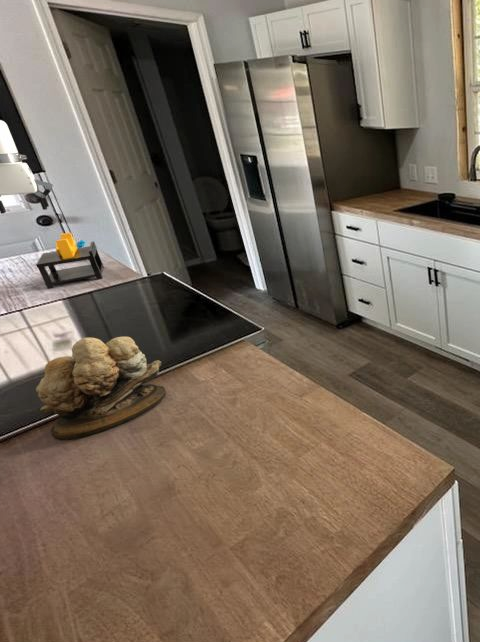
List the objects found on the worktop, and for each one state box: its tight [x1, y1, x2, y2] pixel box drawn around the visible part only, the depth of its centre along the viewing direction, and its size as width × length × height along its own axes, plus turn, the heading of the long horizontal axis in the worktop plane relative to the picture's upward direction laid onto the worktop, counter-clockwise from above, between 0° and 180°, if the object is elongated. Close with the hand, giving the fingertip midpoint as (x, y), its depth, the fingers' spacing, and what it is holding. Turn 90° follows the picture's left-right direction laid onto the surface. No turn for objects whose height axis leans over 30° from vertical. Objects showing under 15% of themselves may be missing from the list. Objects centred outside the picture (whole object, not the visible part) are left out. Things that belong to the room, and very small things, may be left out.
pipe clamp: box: [55, 232, 78, 259], centre depth 146 cm, size 12×4×6 cm, turn 40°
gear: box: [76, 239, 89, 261], centre depth 169 cm, size 11×6×10 cm
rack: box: [36, 240, 105, 290], centre depth 149 cm, size 14×16×11 cm
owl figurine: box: [35, 336, 167, 441], centre depth 79 cm, size 18×12×17 cm, turn 137°
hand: (24, 210), depth 140 cm, fingers open, 9 cm apart
